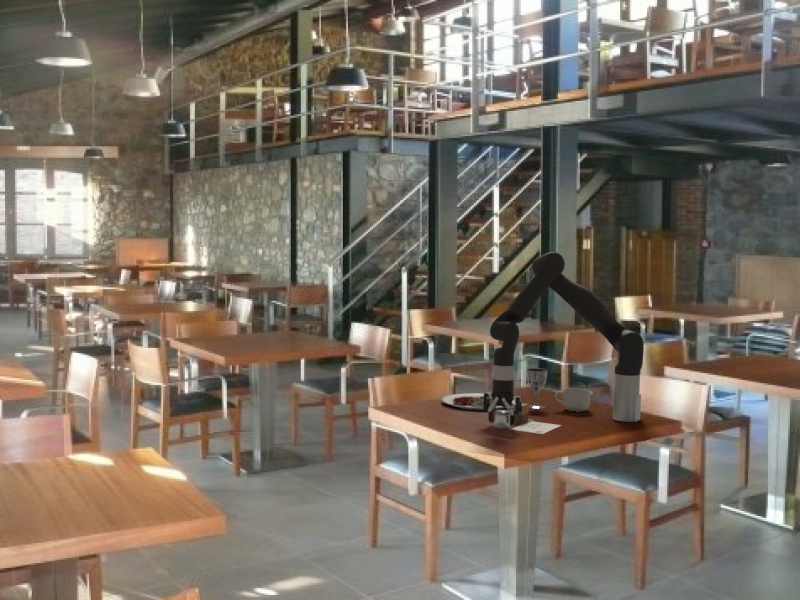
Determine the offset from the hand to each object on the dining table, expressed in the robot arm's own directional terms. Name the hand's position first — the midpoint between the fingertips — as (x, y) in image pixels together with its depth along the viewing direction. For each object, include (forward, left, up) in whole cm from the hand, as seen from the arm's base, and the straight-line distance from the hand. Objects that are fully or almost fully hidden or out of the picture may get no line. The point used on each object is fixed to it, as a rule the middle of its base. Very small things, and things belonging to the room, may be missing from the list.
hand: (501, 423), depth 320 cm
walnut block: (0, -14, -1) cm, 14 cm away
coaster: (0, -14, -2) cm, 14 cm away
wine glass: (+6, -43, -2) cm, 43 cm away
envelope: (-10, -7, -2) cm, 12 cm away
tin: (0, 0, -2) cm, 2 cm away
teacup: (-8, -46, -2) cm, 47 cm away
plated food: (+27, -35, -2) cm, 44 cm away
